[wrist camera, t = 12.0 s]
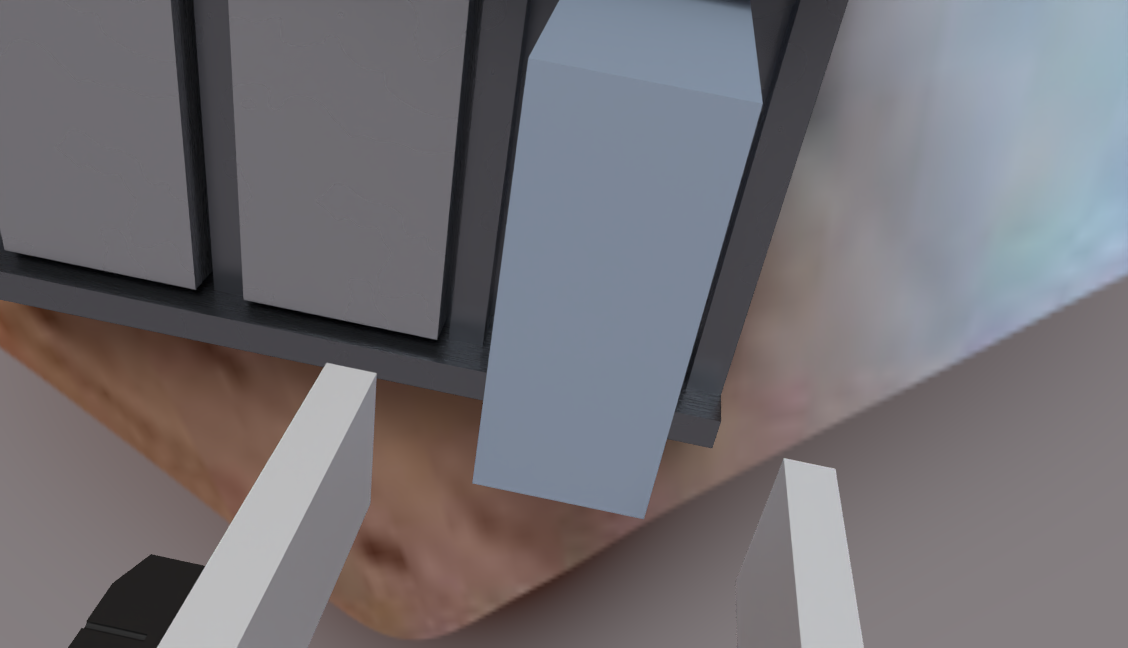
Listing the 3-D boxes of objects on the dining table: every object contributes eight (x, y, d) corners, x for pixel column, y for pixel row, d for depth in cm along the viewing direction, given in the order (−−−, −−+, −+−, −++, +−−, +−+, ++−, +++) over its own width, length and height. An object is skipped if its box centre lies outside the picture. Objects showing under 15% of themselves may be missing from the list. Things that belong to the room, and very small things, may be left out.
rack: (26, 243, 29) (-49, 302, 26) (-80, -282, 21) (-205, -282, 18) (711, 385, 29) (711, 461, 26) (864, -101, 21) (888, -70, 18)
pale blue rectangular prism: (524, 317, 27) (472, 483, 21) (578, -37, 21) (528, 58, 16) (658, 344, 27) (644, 519, 21) (750, -4, 21) (762, 103, 15)
